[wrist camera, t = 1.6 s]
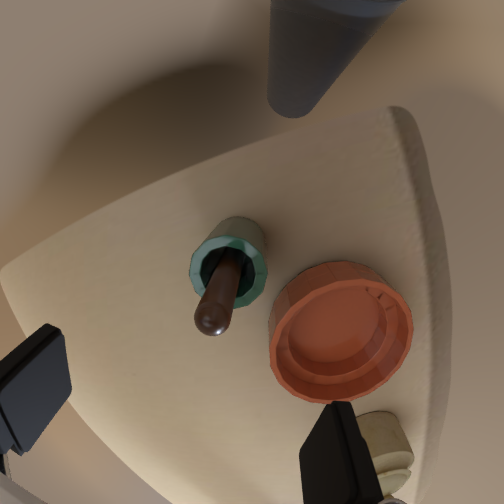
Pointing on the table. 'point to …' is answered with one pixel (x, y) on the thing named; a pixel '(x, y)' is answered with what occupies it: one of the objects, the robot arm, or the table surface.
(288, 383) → the mixing bowl
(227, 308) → the stirring stick
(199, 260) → the stick holder
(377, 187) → the table surface
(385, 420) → the sugar bowl
